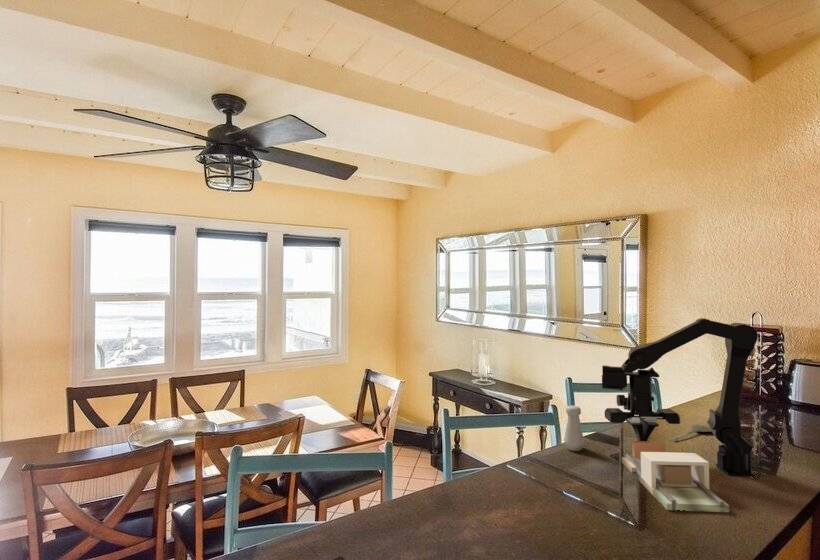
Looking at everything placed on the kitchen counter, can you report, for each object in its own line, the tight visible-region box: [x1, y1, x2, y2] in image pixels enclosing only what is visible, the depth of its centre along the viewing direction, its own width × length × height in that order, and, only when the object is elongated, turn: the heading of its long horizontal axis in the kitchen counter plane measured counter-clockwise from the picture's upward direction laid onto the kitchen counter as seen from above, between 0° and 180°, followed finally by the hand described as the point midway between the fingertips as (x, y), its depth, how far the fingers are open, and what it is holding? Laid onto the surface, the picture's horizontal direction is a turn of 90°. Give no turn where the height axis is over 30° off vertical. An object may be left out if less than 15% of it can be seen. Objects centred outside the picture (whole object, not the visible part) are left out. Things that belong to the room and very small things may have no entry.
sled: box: [631, 440, 697, 488], centre depth 113 cm, size 8×18×5 cm, turn 174°
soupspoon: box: [669, 424, 712, 443], centre depth 145 cm, size 22×3×7 cm
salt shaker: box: [563, 404, 585, 452], centre depth 135 cm, size 6×6×13 cm
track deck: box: [621, 454, 730, 513], centre depth 110 cm, size 13×26×2 cm, turn 174°
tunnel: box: [641, 451, 710, 490], centre depth 107 cm, size 13×6×6 cm, turn 84°
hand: (642, 445), depth 126 cm, fingers closed
